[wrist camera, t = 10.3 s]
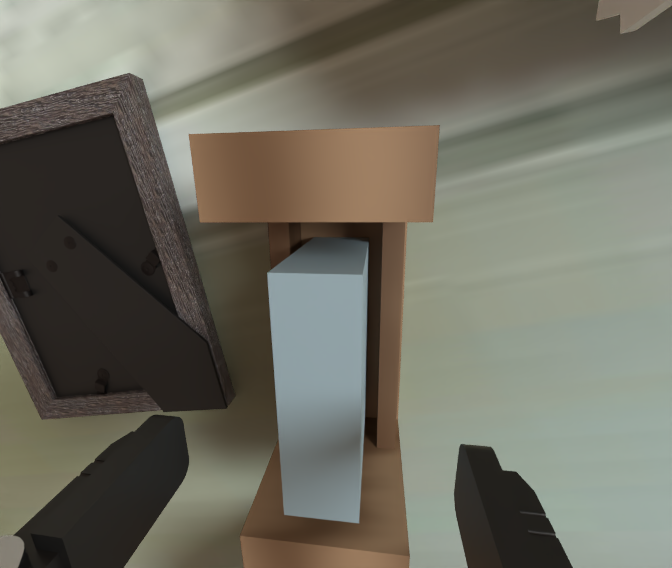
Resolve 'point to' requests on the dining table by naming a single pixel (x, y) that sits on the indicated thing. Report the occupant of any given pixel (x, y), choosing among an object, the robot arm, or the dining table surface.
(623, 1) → the spiral staircase
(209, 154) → the track
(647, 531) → the dining table surface
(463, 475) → the robot arm
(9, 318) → the picture frame
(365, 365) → the door panel
